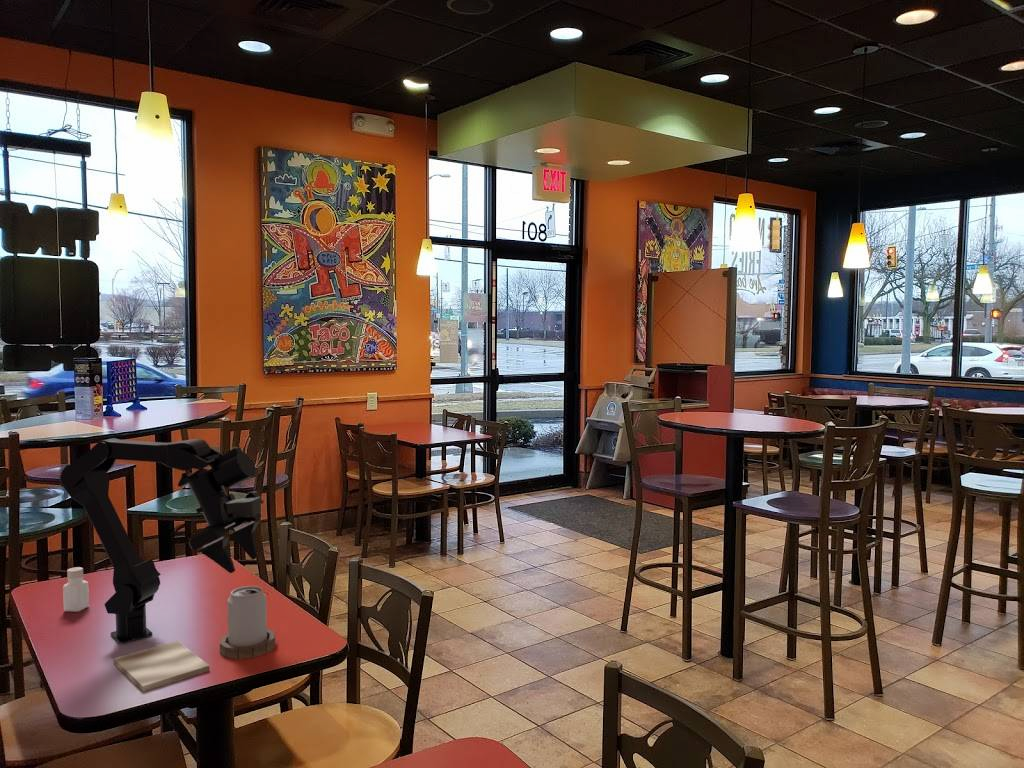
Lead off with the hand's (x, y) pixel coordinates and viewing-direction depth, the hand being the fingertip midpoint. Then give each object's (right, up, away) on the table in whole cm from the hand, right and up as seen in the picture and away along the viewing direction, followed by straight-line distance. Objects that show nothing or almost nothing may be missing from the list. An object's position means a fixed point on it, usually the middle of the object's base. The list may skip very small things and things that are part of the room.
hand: (244, 565), depth 154 cm
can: (+1, -17, -1) cm, 17 cm away
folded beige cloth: (-12, -17, -10) cm, 23 cm away
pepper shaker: (-46, -15, +20) cm, 52 cm away
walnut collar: (+1, -17, -1) cm, 17 cm away
